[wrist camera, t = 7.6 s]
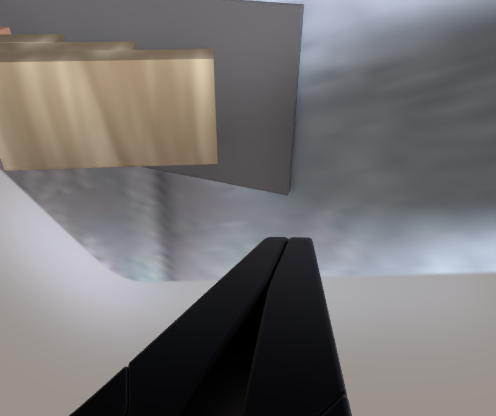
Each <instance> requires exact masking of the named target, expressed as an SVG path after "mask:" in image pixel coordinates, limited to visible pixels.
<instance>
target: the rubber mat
mask: <svg viewBox="0 0 496 416" xmlns="http://www.w3.org/2000/svg"><path fill="white" fill-rule="evenodd" d="M303 9H304V5H303V4H289V3H275V2H261V1H247V0H0V26H3V27H9V28H10V31H11V34H63V35H64V40H65V42H115V41H136V45H137V50H161V49H213V59H214V84H215V109H216V134H217V160H218V164H196V165H165V166H141V167H146V168H151V169H156V170H161V171H166V172H171V173H177V174H182V175H187V176H192V177H197V178H202V179H207V180H212V181H217V182H222V183H227V184H232V185H237V186H242V187H247V188H253V189H258V190H263V191H268V192H273V193H278V194H283V195H288V194H289V192H290V180H291V167H292V154H293V141H294V128H295V114H296V101H297V88H298V75H299V62H300V49H301V35H302V22H303Z"/></svg>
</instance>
